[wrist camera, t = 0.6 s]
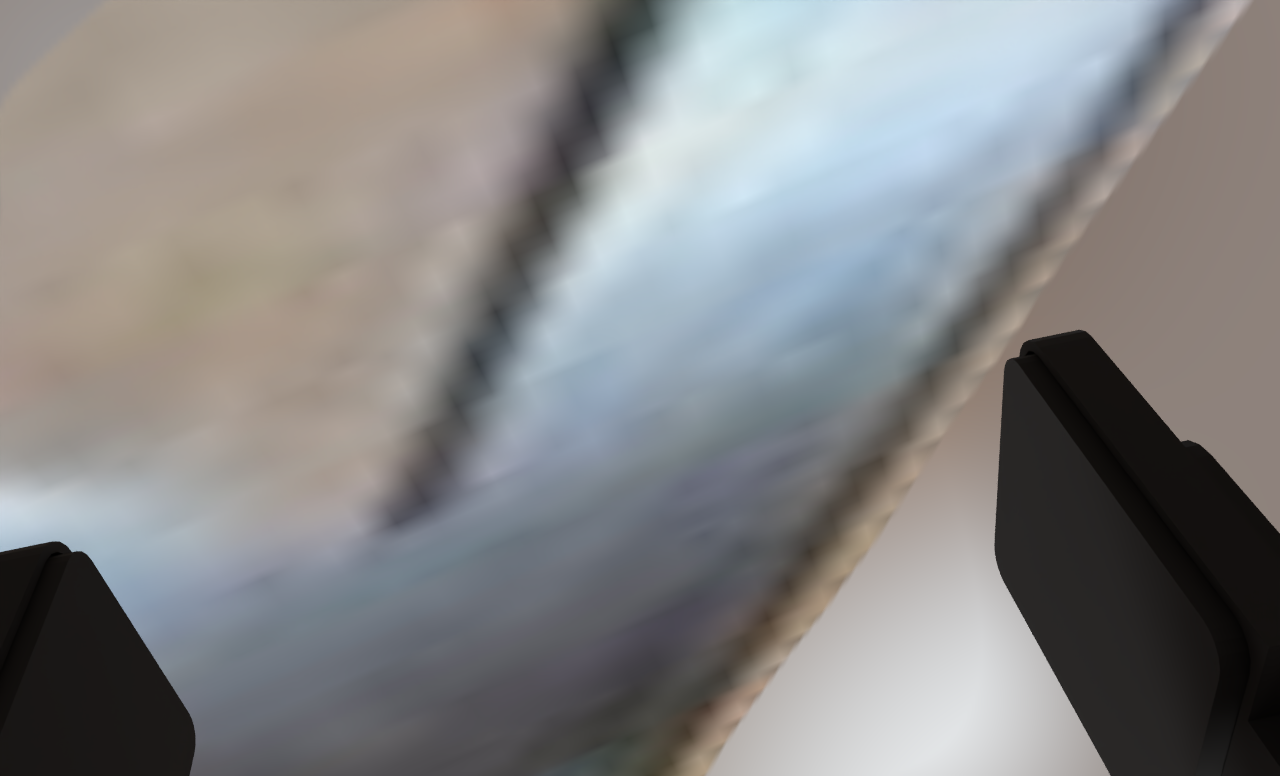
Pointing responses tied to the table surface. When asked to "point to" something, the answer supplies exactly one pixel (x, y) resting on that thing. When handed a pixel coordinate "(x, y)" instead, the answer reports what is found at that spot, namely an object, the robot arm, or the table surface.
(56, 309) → the table surface
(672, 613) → the table surface
